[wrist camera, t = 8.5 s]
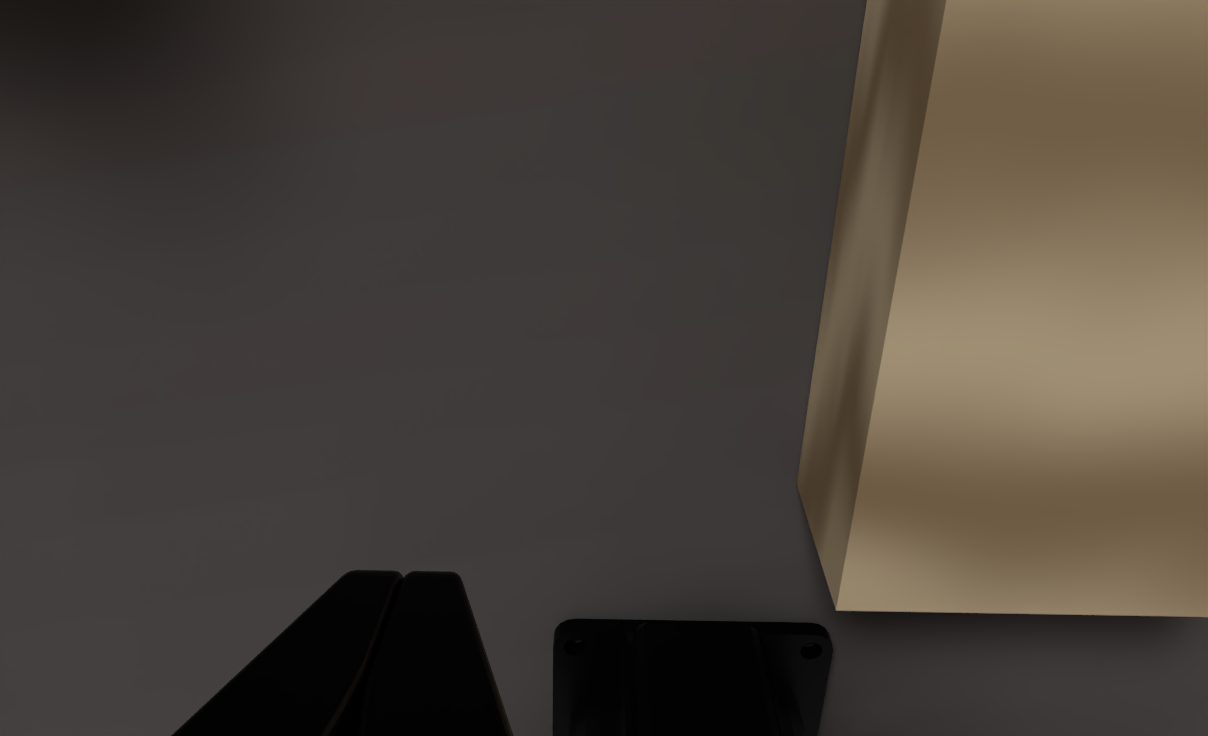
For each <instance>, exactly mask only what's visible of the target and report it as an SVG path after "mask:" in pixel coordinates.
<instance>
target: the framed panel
mask: <svg viewBox="0 0 1208 736" xmlns="http://www.w3.org/2000/svg"><path fill="white" fill-rule="evenodd" d="M797 488H798V491H799V494H800V497H801V500H802V504H803V507H804V510H805V513H806V516H807V520H808V523H809V526H810V529H811V532H812V536H813V539H814V542H815V545H816V548H817V552H818V555H819V558H820V561H821V565H822V568H823V571H824V574H825V577H826V581H827V584H828V587H829V590H830V593H831V597H832V600H833V603H834V606H835V609H836V611H888V612H947V613H1006V614H1064V615H1123V616H1181V617H1208V0H867V4H866V11H865V18H864V25H863V32H862V38H861V45H860V52H859V59H858V66H857V73H856V80H855V87H854V93H853V100H852V107H851V114H850V121H849V128H848V135H847V142H846V148H845V155H844V162H843V169H842V176H841V183H840V190H839V197H838V203H837V210H836V217H835V224H834V231H833V238H832V245H831V252H830V258H829V265H828V272H827V279H826V286H825V293H824V300H823V307H822V313H821V320H820V327H819V334H818V341H817V348H816V355H815V362H814V368H813V375H812V382H811V389H810V396H809V403H808V410H807V416H806V423H805V430H804V437H803V444H802V451H801V458H800V465H799V471H798V478H797Z"/></svg>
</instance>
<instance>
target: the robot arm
mask: <svg viewBox="0 0 1208 736" xmlns="http://www.w3.org/2000/svg"><path fill="white" fill-rule="evenodd" d="M572 639H578V640H581V641H582V642H580V643H571V642H569V640H572ZM808 643H816V644H815V645H813V646H810V647H804V645H806V644H808ZM832 652H833V649H832V643H831V640H830V636H829V633H828V632H827V630H826V629H825V628H824V627H823V626H821V625H819V624H815V623H793V622H733V621H674V620H615V619H571V620H566V621H564V622H562V623H560V624H559V625H558V627H557V628H556V629H555V633H554V644H553V736H817V734H818V729H819V723H820V718H821V712H822V707H823V701H824V696H825V691H826V685H827V680H828V674H829V669H830V663H831V658H832ZM172 736H513V733H512V730H511V727H510V724H509V721H508V718H507V715H506V712H505V709H504V706H503V703H502V700H501V697H500V694H499V691H498V688H497V685H496V682H495V679H494V676H493V673H492V670H491V667H490V664H489V661H488V658H487V655H486V652H485V649H484V646H483V643H482V640H481V637H480V634H479V631H478V628H477V624H476V621H475V618H474V615H473V612H472V609H471V606H470V603H469V600H468V597H467V594H466V591H465V588H464V585H463V582H462V579H461V577H460V576H459V575H458V574H456V573H455V572H439V571H412V572H410V573H408V574H407V575H405V577H403V576H402V575H401V574H400V573H399V572H397V571H381V570H355V571H350V572H348V573H346V574H345V575H343V576H342V577H341V578H340V579H339V580H338V581H337V582H336V583H334V584H333V585H332V586H331V587H330V588H329V589H328V590H327V591H326V592H325V593H324V594H323V595H322V596H321V597H319V598H318V599H317V600H316V601H315V602H314V603H313V604H312V605H311V606H310V607H309V608H308V609H307V610H306V611H304V612H303V613H302V614H301V615H300V616H299V617H298V618H297V619H296V620H295V621H294V622H293V623H292V624H291V625H289V626H288V627H287V628H286V629H285V630H284V631H283V632H282V633H281V634H280V635H279V636H278V637H277V638H276V639H274V640H273V641H272V642H271V643H270V644H269V645H268V646H267V647H266V648H265V649H264V650H263V651H262V652H260V653H259V654H258V655H257V656H256V657H255V658H254V659H253V660H252V661H251V662H250V663H249V664H248V665H247V666H245V667H244V668H243V669H242V670H241V671H240V672H239V673H238V674H237V675H236V676H235V677H234V678H233V679H232V680H230V681H229V682H228V683H227V684H226V685H225V686H224V687H223V688H222V689H221V690H220V691H219V692H218V693H217V694H215V695H214V696H213V697H212V698H211V699H210V700H209V701H208V702H207V703H206V704H205V705H204V706H203V707H202V708H200V709H199V710H198V711H197V712H196V713H195V714H194V715H193V716H192V717H191V718H190V719H189V720H188V721H187V722H185V723H184V724H183V725H182V726H181V727H180V728H179V729H178V730H177V731H176V732H175V733H174V734H173V735H172Z"/></svg>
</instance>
